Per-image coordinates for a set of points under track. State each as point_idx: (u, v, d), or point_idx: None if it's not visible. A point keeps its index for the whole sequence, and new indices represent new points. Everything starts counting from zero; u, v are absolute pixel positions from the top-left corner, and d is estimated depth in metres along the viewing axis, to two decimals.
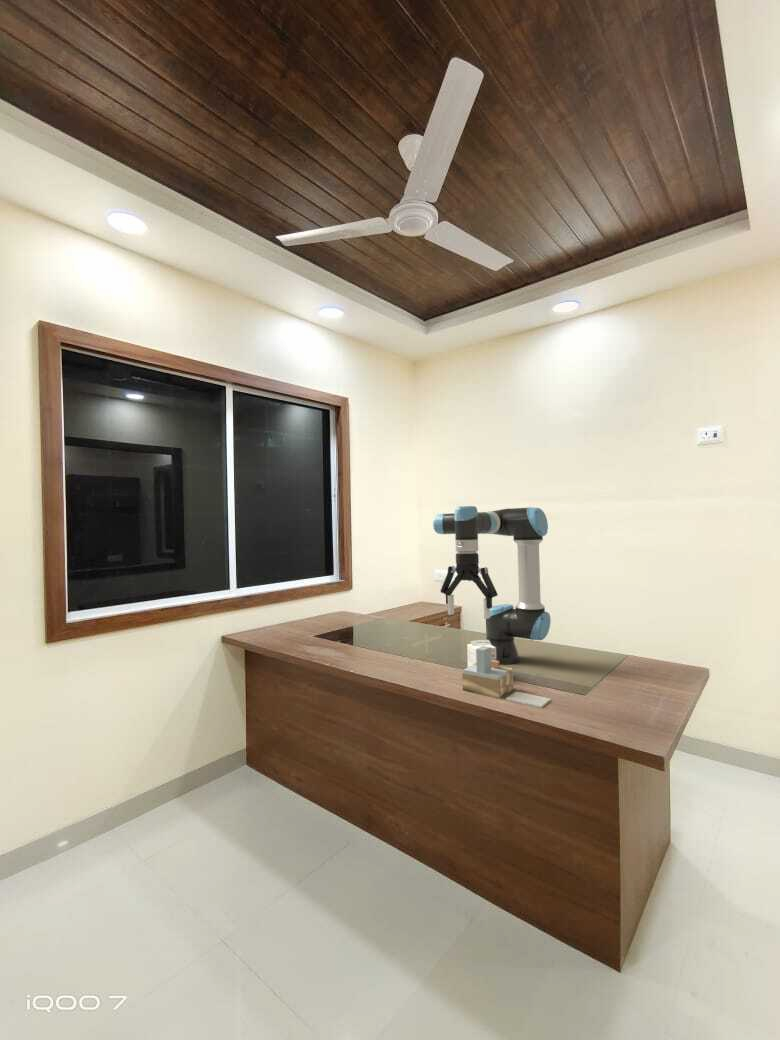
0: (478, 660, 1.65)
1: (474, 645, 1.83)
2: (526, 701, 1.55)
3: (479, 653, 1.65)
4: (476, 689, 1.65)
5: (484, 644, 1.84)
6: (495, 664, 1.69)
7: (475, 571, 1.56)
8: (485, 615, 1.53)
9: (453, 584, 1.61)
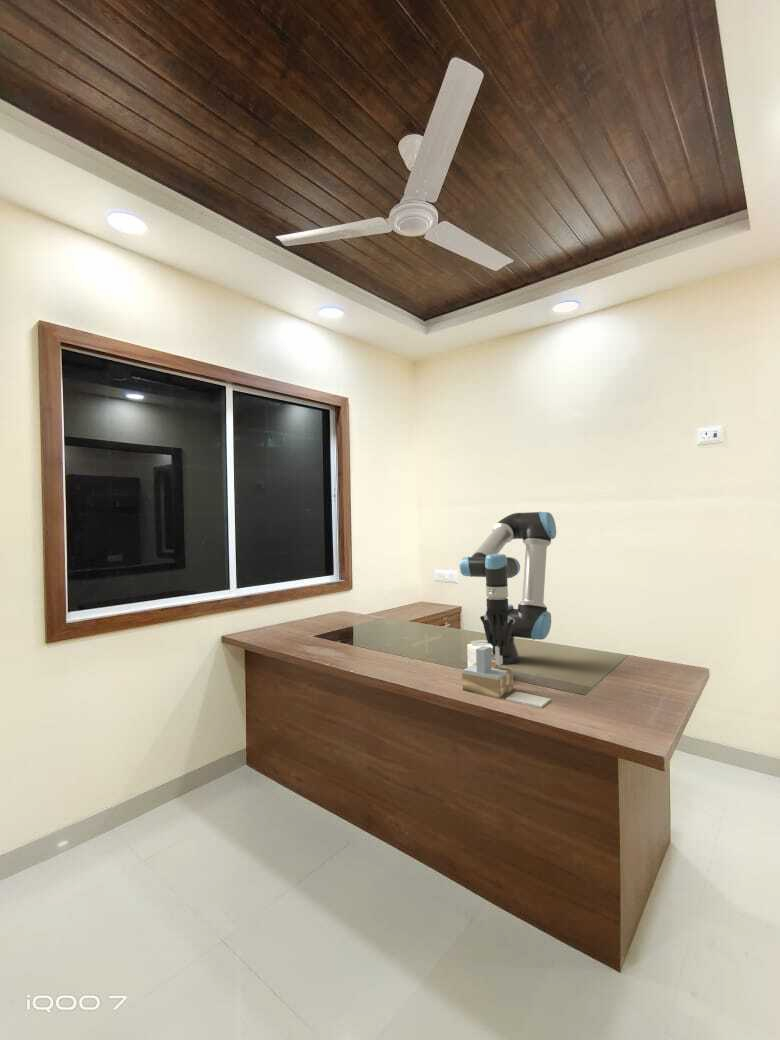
0: (478, 660, 1.65)
1: (474, 645, 1.83)
2: (526, 701, 1.55)
3: (479, 653, 1.65)
4: (476, 689, 1.65)
5: (484, 644, 1.84)
6: (494, 664, 1.69)
7: (504, 617, 1.67)
8: (498, 662, 1.68)
9: (493, 632, 1.69)
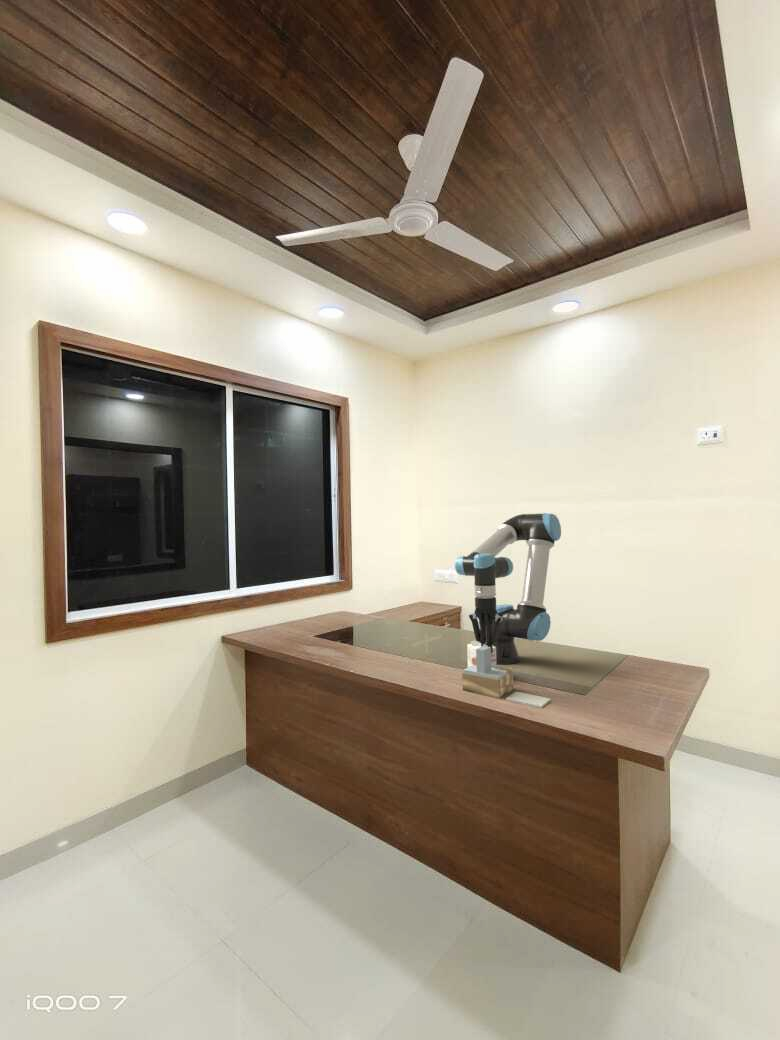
0: (478, 660, 1.65)
1: (474, 645, 1.83)
2: (526, 701, 1.55)
3: (479, 653, 1.65)
4: (476, 689, 1.65)
5: None
6: None
7: (492, 615, 1.70)
8: None
9: (481, 630, 1.72)
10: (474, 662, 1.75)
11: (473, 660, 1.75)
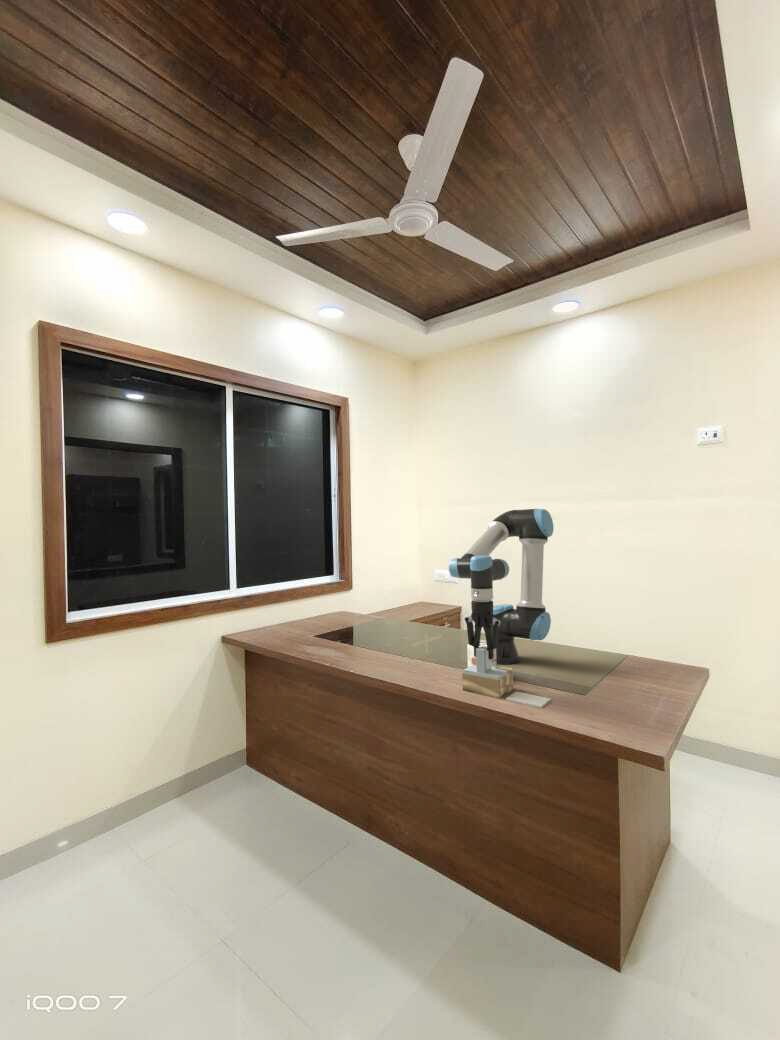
0: (478, 660, 1.65)
1: None
2: (526, 701, 1.55)
3: (479, 653, 1.65)
4: (476, 689, 1.65)
5: (484, 644, 1.84)
6: None
7: (489, 619, 1.64)
8: (487, 665, 1.64)
9: (476, 634, 1.67)
10: (474, 662, 1.75)
11: (473, 660, 1.75)
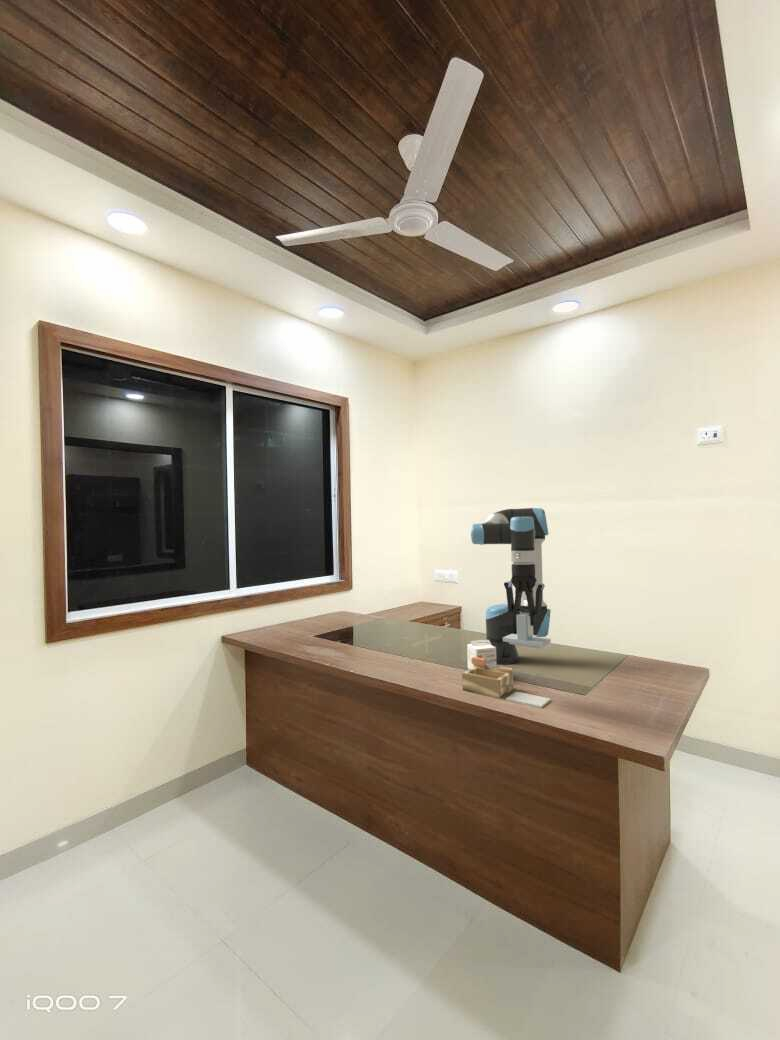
0: (519, 627, 1.55)
1: (474, 645, 1.83)
2: (526, 701, 1.55)
3: (521, 619, 1.55)
4: (476, 689, 1.65)
5: (484, 644, 1.84)
6: (482, 662, 1.72)
7: (532, 583, 1.54)
8: (529, 632, 1.55)
9: (516, 599, 1.57)
10: (474, 662, 1.75)
11: (473, 660, 1.75)
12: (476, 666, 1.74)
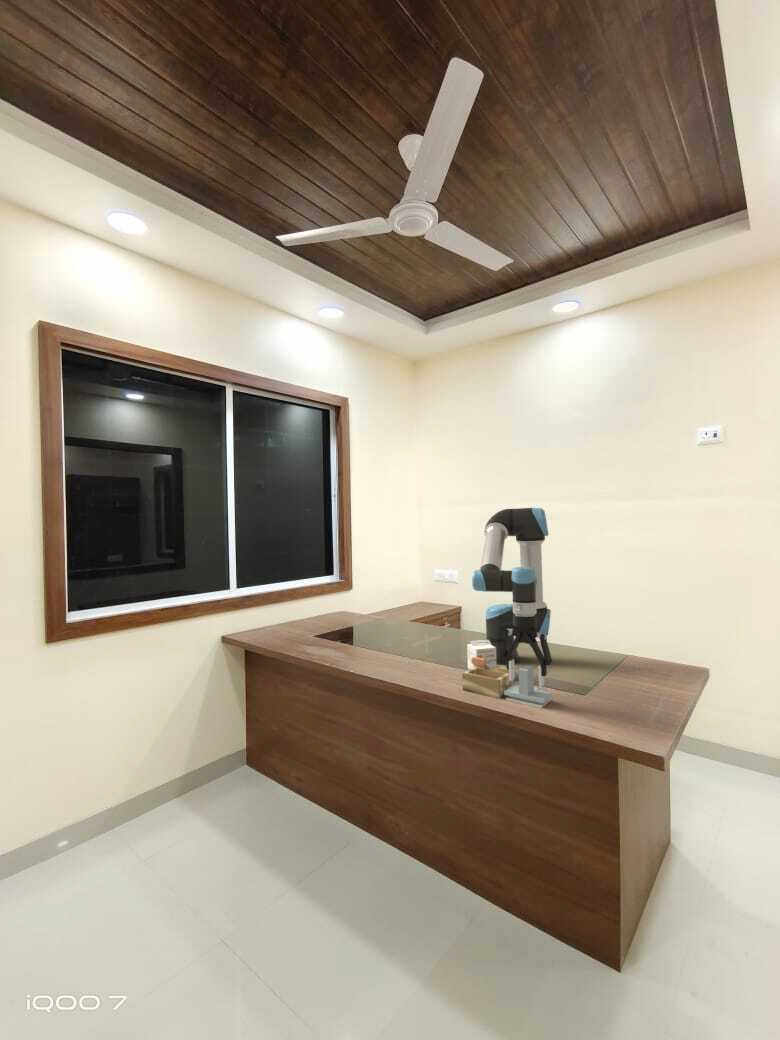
0: (521, 681, 1.55)
1: (474, 645, 1.83)
2: (526, 701, 1.55)
3: (522, 674, 1.55)
4: (476, 689, 1.65)
5: (484, 644, 1.84)
6: (482, 662, 1.72)
7: (534, 635, 1.54)
8: (540, 683, 1.52)
9: (513, 648, 1.58)
10: (474, 662, 1.75)
11: (473, 660, 1.75)
12: (476, 666, 1.74)
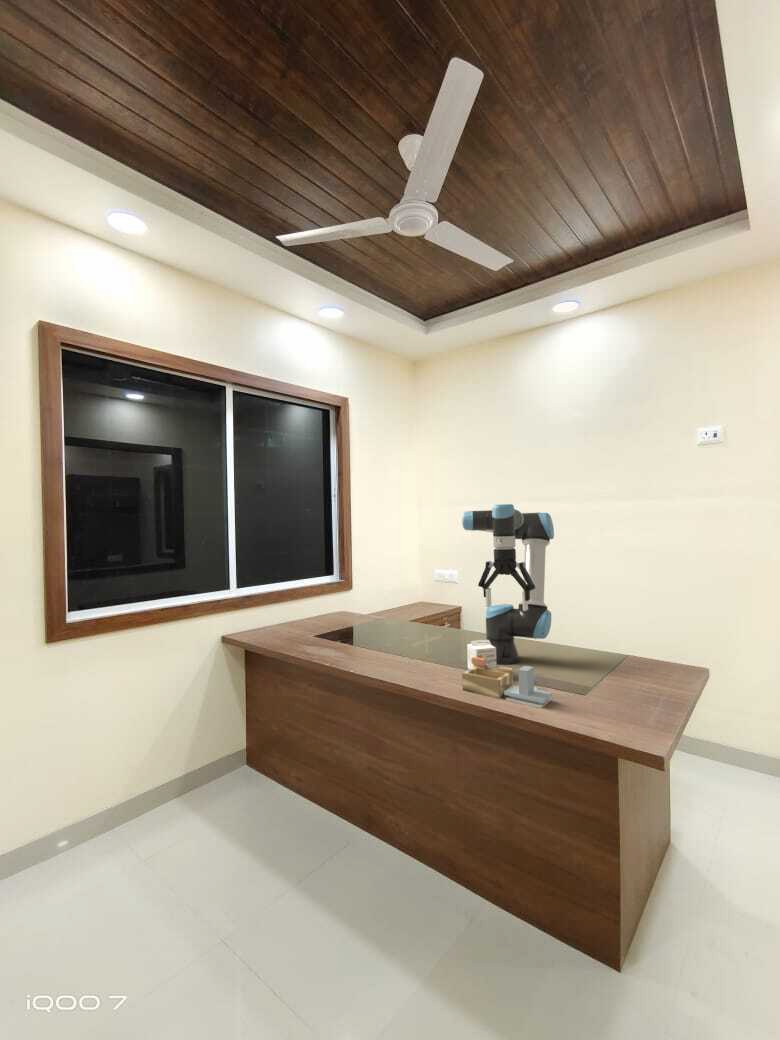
0: (521, 681, 1.55)
1: (474, 645, 1.83)
2: (526, 701, 1.55)
3: (522, 674, 1.55)
4: (476, 689, 1.65)
5: (484, 644, 1.84)
6: (482, 662, 1.72)
7: (513, 566, 1.64)
8: (524, 607, 1.62)
9: (491, 578, 1.69)
10: (474, 662, 1.75)
11: (473, 660, 1.75)
12: (476, 666, 1.74)
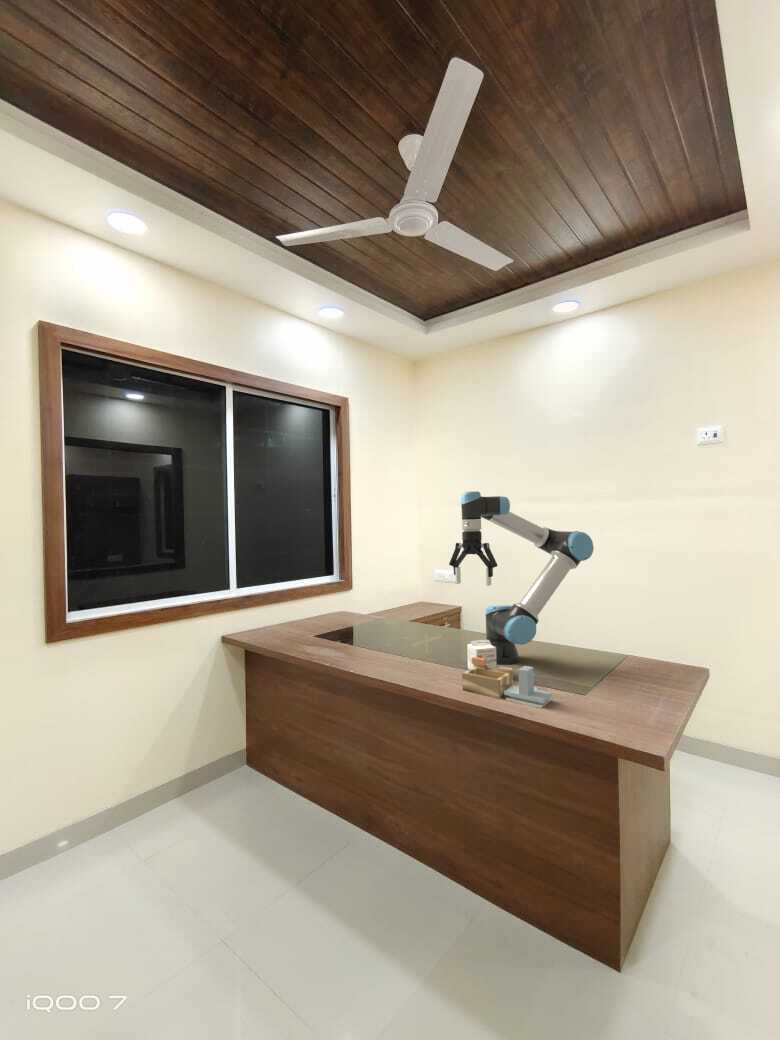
0: (521, 681, 1.55)
1: (474, 645, 1.83)
2: (526, 701, 1.55)
3: (522, 674, 1.55)
4: (476, 689, 1.65)
5: (484, 644, 1.84)
6: (482, 662, 1.72)
7: (478, 546, 1.85)
8: (487, 582, 1.83)
9: (460, 558, 1.90)
10: (474, 662, 1.75)
11: (473, 660, 1.75)
12: (476, 666, 1.74)
